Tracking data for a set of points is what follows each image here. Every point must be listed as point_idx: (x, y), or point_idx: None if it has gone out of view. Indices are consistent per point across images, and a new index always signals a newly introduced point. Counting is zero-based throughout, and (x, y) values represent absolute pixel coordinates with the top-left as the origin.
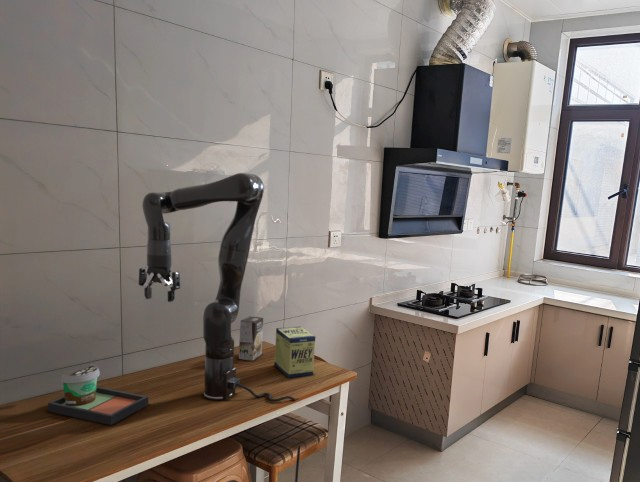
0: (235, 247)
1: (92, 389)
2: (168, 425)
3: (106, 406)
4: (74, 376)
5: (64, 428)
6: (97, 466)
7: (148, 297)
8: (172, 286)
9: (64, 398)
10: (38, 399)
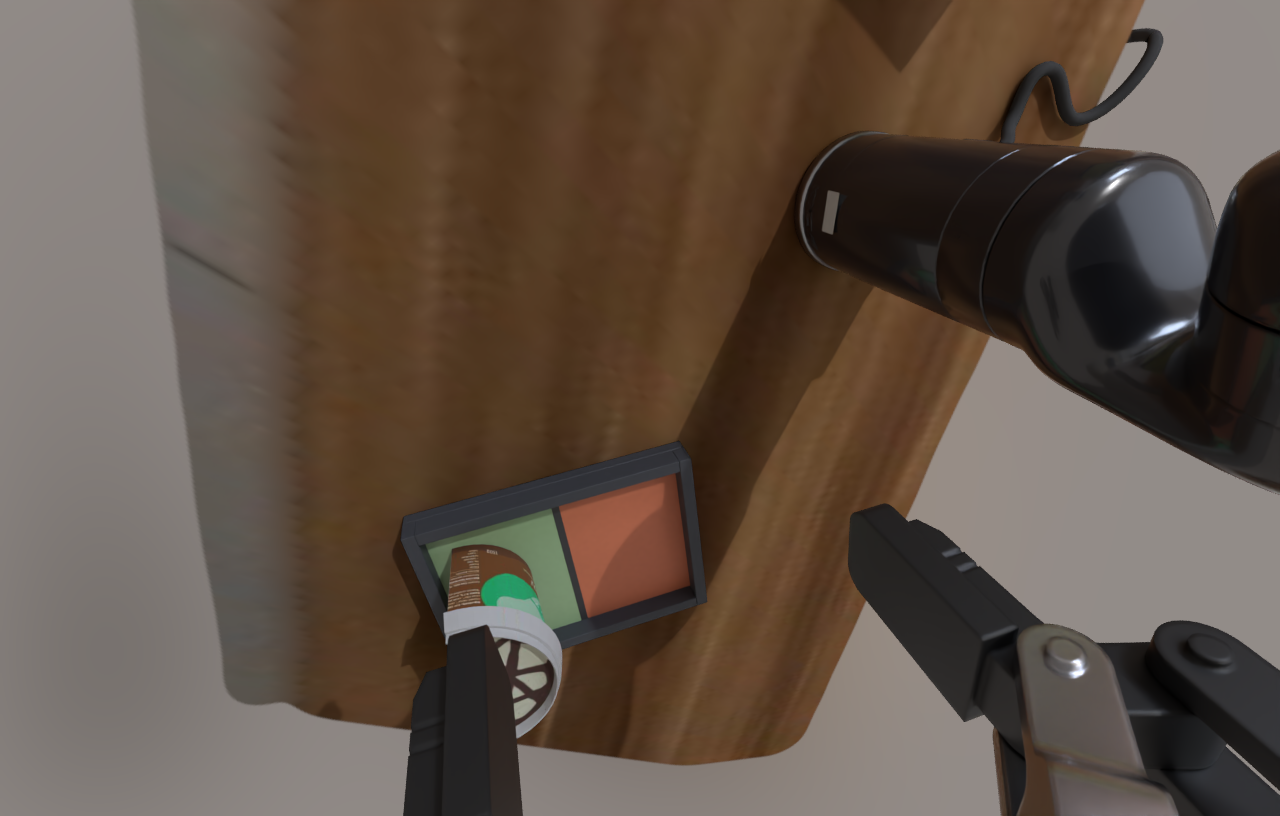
0: None
1: (540, 607)
2: (832, 485)
3: (601, 555)
4: (538, 718)
5: (608, 657)
6: (815, 667)
7: (507, 687)
8: (1082, 719)
9: None
10: (327, 646)
